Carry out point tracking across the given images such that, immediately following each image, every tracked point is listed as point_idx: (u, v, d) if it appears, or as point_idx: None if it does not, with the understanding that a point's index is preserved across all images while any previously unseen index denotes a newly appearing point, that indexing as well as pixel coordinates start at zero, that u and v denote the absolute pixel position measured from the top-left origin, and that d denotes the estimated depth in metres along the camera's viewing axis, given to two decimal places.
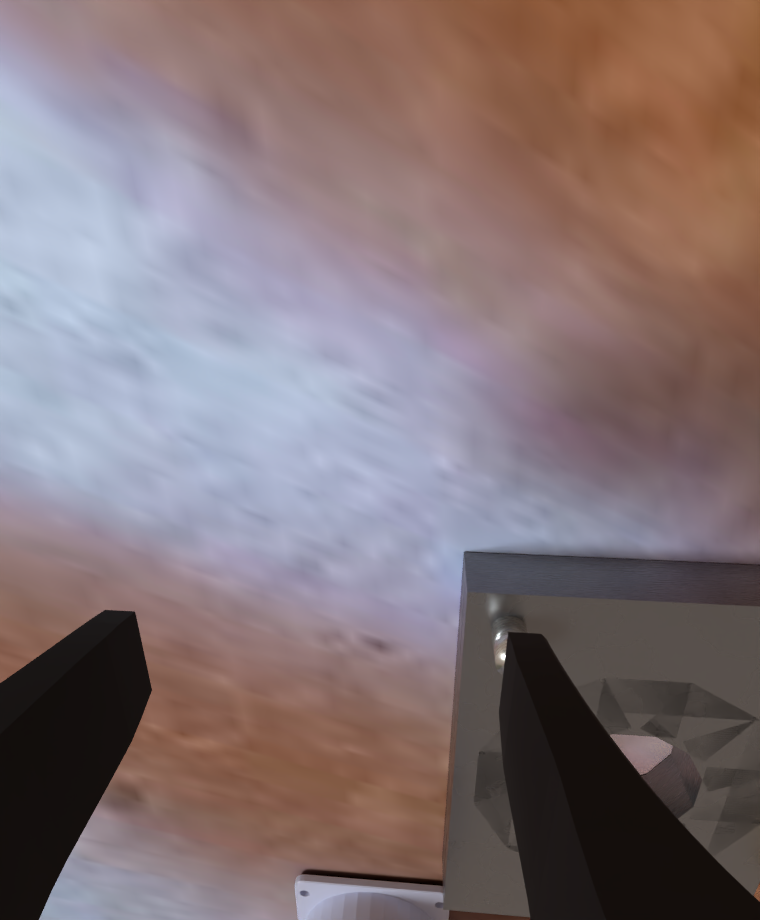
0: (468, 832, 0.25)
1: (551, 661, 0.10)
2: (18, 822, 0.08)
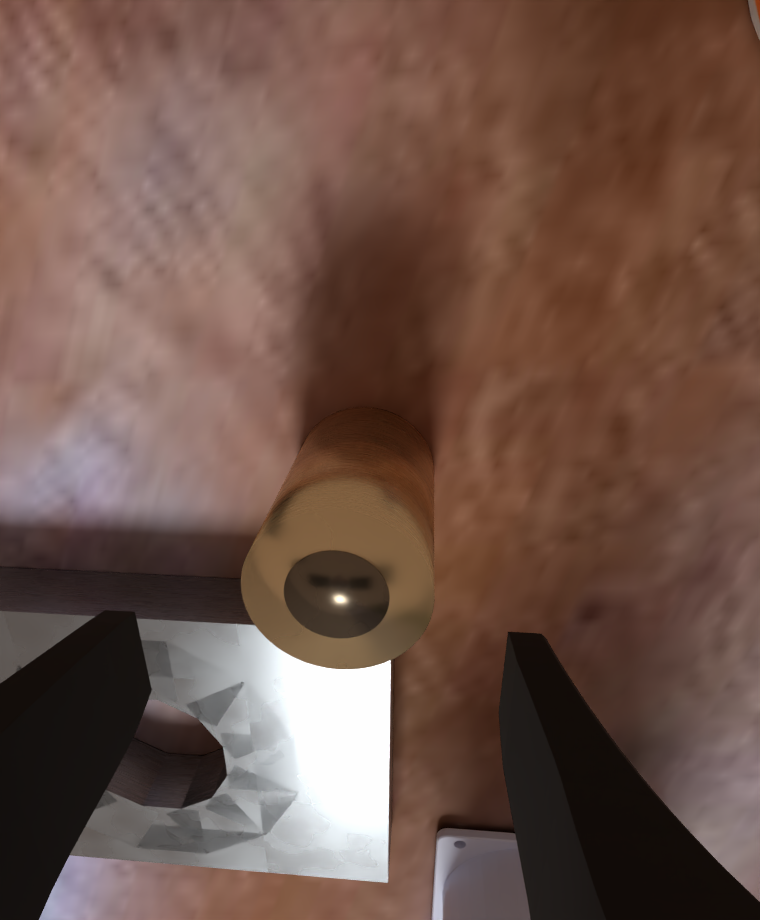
0: (251, 858, 0.24)
1: (551, 661, 0.10)
2: (18, 822, 0.08)
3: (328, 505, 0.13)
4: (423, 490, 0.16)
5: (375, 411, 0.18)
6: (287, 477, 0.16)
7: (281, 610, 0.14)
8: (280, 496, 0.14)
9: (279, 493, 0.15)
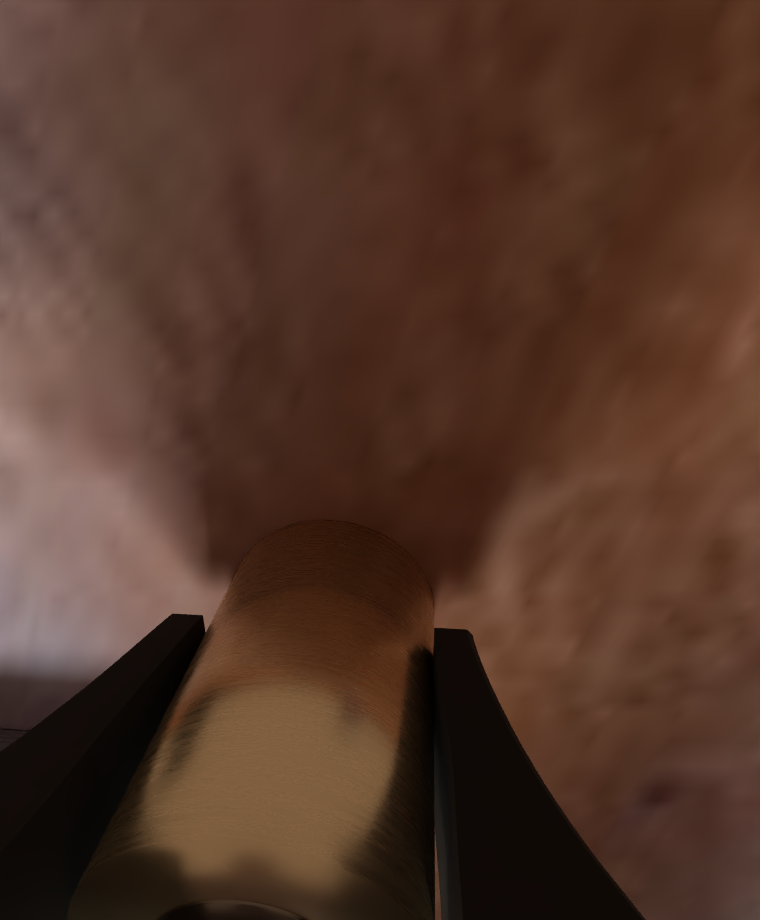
0: None
1: (469, 656, 0.10)
2: None
3: (221, 822, 0.06)
4: (416, 696, 0.09)
5: (344, 529, 0.12)
6: (190, 667, 0.10)
7: None
8: (160, 734, 0.08)
9: (167, 712, 0.09)
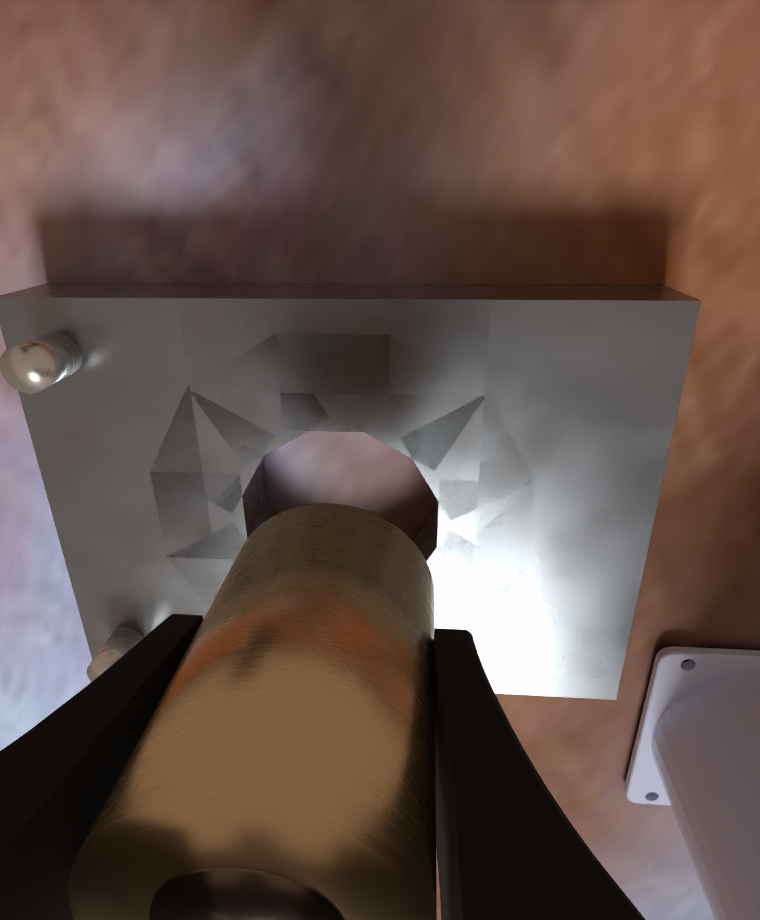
0: None
1: (469, 656, 0.10)
2: None
3: (243, 787, 0.06)
4: (423, 683, 0.09)
5: (355, 515, 0.12)
6: (198, 638, 0.09)
7: None
8: (171, 701, 0.08)
9: (175, 680, 0.09)
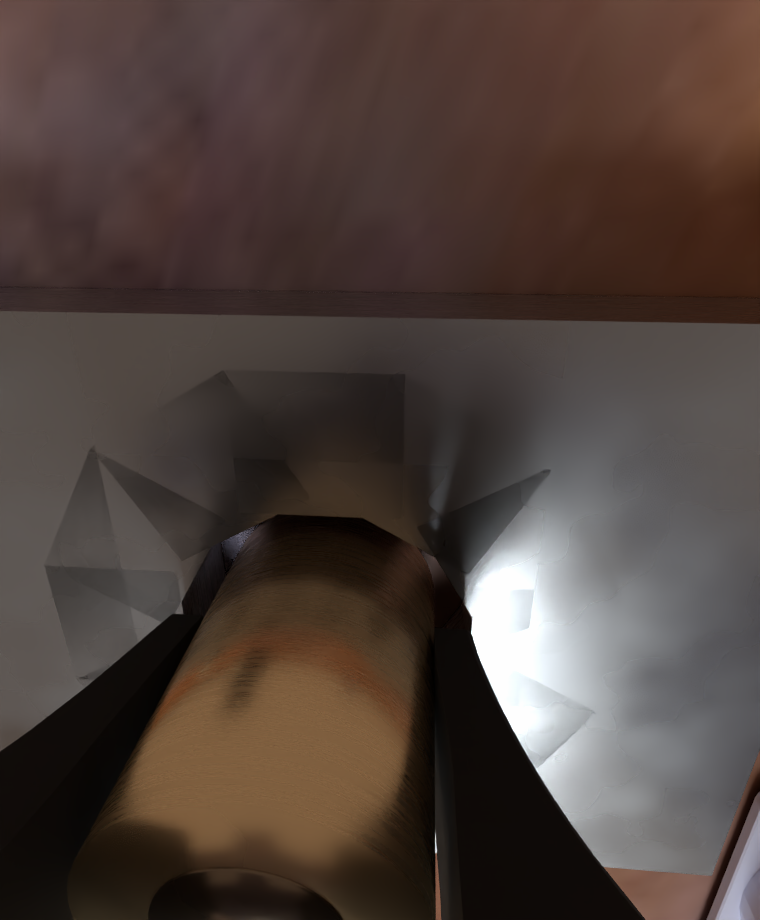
0: None
1: (469, 656, 0.10)
2: None
3: (242, 789, 0.06)
4: (423, 683, 0.09)
5: None
6: (197, 638, 0.09)
7: None
8: (170, 701, 0.08)
9: (174, 681, 0.09)
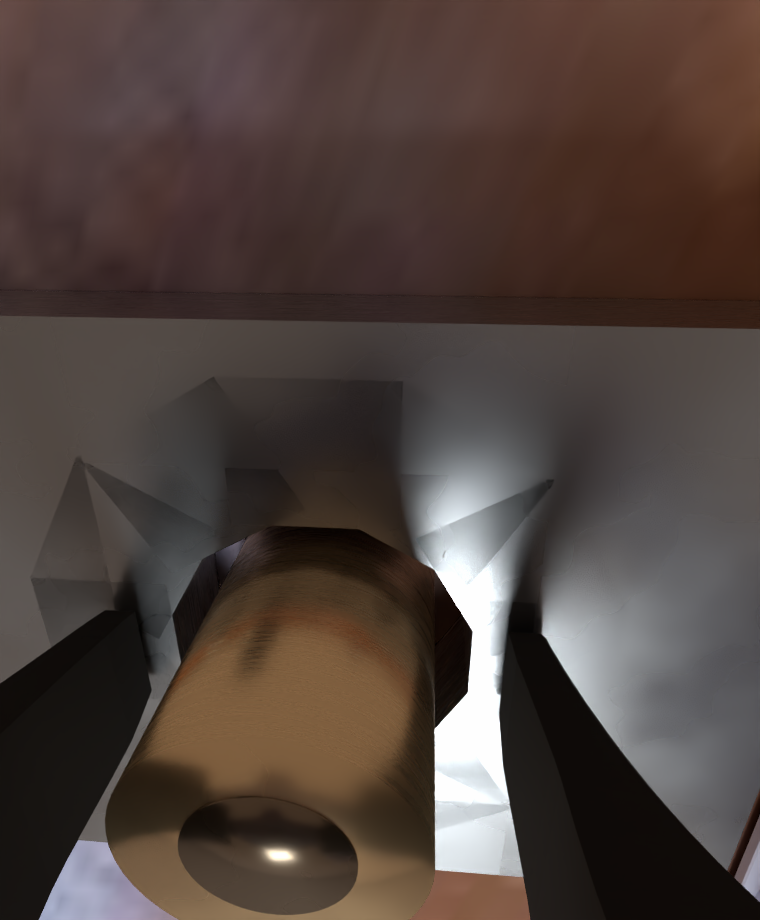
0: (475, 851, 0.14)
1: (551, 661, 0.10)
2: (18, 822, 0.08)
3: (263, 724, 0.07)
4: (424, 646, 0.10)
5: None
6: (215, 604, 0.10)
7: (173, 867, 0.08)
8: (194, 657, 0.09)
9: (196, 641, 0.09)
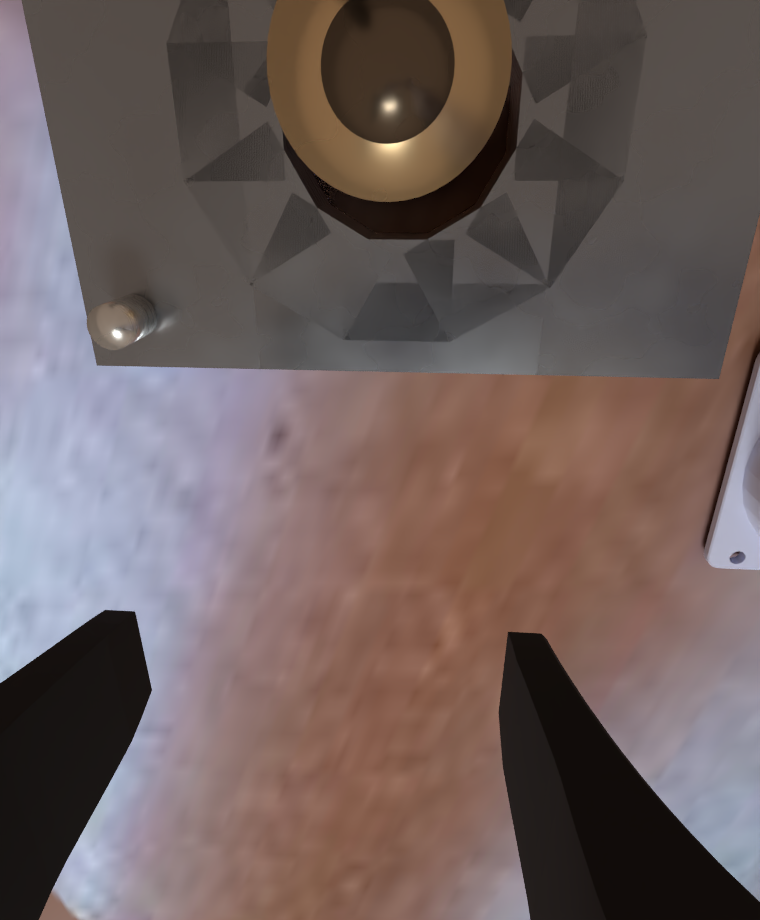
0: (516, 346, 0.17)
1: (551, 661, 0.10)
2: (18, 822, 0.08)
3: None
4: None
5: None
6: None
7: (314, 93, 0.11)
8: None
9: None
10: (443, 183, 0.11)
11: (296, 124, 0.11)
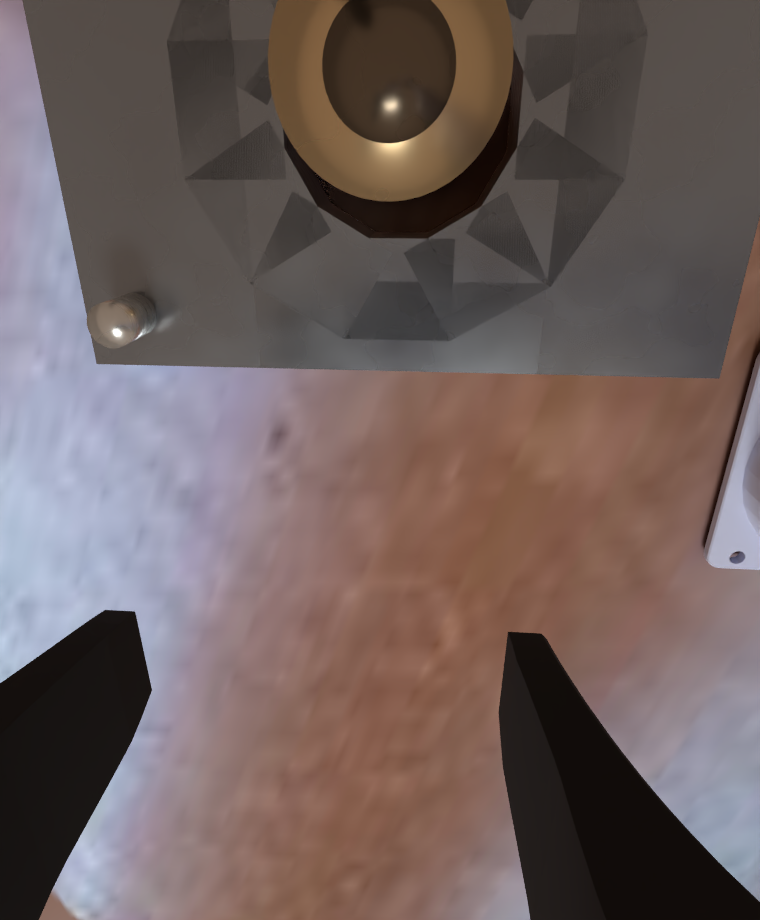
0: (517, 345, 0.17)
1: (551, 661, 0.10)
2: (18, 822, 0.08)
3: None
4: None
5: None
6: None
7: (315, 92, 0.11)
8: None
9: None
10: (444, 183, 0.11)
11: (297, 123, 0.11)
